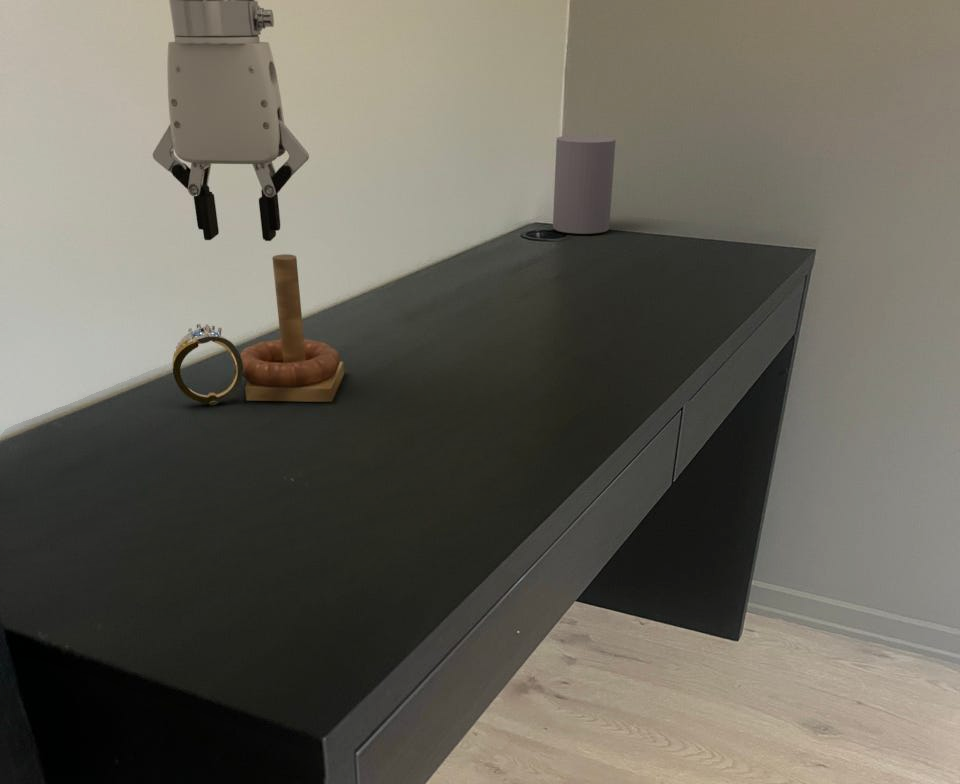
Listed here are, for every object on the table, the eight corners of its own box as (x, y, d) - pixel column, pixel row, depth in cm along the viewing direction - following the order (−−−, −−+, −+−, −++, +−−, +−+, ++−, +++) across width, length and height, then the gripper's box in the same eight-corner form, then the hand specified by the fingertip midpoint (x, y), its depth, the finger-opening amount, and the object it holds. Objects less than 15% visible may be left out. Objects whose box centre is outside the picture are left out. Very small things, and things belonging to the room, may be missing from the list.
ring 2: (228, 389, 102) (225, 366, 100) (249, 357, 111) (247, 335, 110) (332, 390, 102) (330, 367, 100) (345, 358, 111) (344, 336, 109)
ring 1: (245, 395, 105) (236, 319, 100) (249, 405, 102) (239, 327, 98) (178, 402, 103) (165, 324, 98) (179, 412, 100) (166, 333, 96)
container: (619, 229, 182) (626, 138, 174) (590, 238, 175) (596, 144, 167) (571, 222, 187) (576, 133, 179) (541, 230, 180) (545, 139, 172)
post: (246, 400, 103) (229, 266, 96) (264, 373, 111) (249, 246, 103) (331, 402, 103) (321, 267, 96) (344, 374, 111) (335, 247, 103)
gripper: (316, 24, 92) (331, 231, 102) (134, 22, 92) (167, 229, 102) (302, 26, 86) (319, 247, 95) (107, 24, 86) (144, 244, 96)
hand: (240, 235), depth 99 cm, fingers open, 5 cm apart
